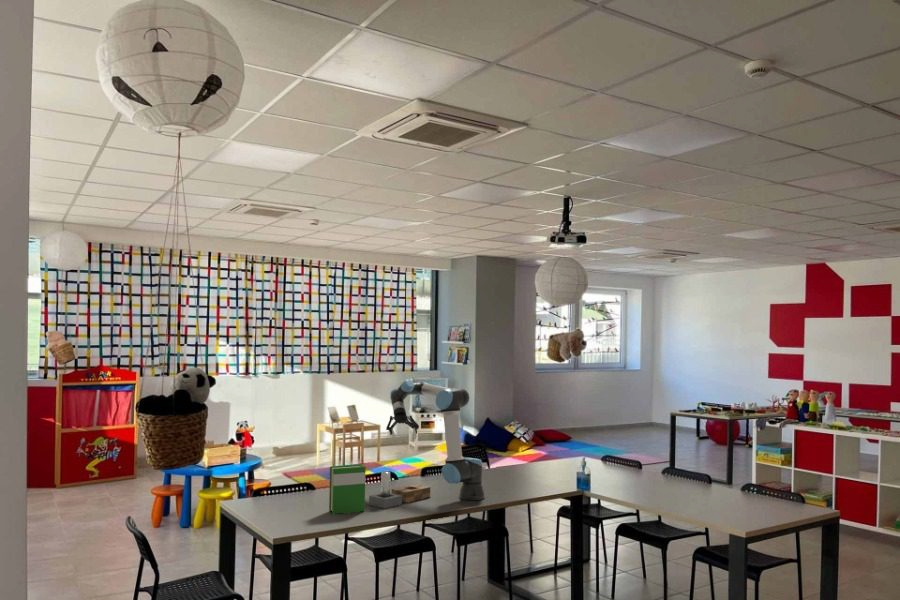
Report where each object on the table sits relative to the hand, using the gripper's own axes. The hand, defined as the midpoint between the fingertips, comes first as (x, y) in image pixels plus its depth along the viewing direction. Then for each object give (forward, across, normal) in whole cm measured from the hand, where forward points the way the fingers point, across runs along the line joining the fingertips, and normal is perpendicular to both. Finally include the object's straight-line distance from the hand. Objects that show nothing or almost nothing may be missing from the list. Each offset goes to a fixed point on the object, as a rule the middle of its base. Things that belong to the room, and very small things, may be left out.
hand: (404, 438), depth 412 cm
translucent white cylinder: (+39, +16, -8) cm, 43 cm away
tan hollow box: (+31, -2, -16) cm, 35 cm away
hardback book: (+46, +39, -2) cm, 61 cm away
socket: (+39, +16, -8) cm, 43 cm away
